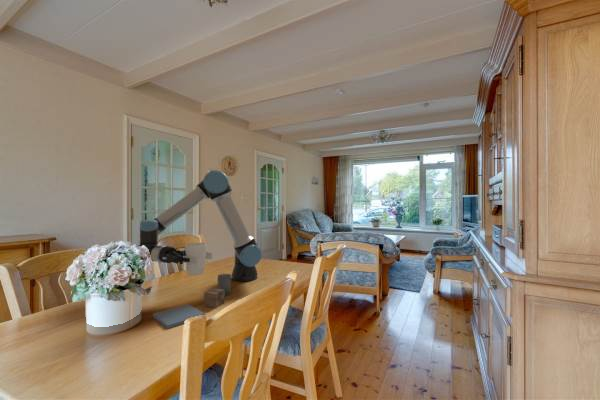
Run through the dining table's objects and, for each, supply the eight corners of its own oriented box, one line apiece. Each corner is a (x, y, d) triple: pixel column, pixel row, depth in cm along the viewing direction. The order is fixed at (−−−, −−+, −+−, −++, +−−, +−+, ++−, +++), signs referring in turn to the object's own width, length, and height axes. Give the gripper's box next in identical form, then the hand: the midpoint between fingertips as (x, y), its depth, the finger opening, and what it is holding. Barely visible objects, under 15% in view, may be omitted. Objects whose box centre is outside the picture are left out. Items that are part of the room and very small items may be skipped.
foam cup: (199, 269, 128) (199, 242, 128) (211, 273, 122) (211, 244, 122) (180, 274, 120) (180, 244, 120) (192, 277, 114) (192, 246, 115)
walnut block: (212, 301, 122) (213, 288, 122) (224, 303, 120) (224, 289, 120) (204, 306, 116) (204, 292, 116) (215, 308, 114) (216, 294, 114)
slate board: (188, 307, 115) (188, 304, 115) (204, 316, 105) (204, 313, 105) (152, 316, 104) (152, 313, 104) (167, 328, 95) (167, 325, 95)
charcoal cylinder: (226, 291, 136) (226, 273, 136) (232, 294, 131) (233, 275, 131) (215, 293, 131) (215, 275, 131) (221, 297, 127) (221, 277, 127)
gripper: (181, 257, 137) (219, 261, 130) (144, 267, 116) (186, 272, 109) (181, 243, 137) (219, 245, 130) (144, 250, 116) (186, 254, 109)
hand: (204, 258), depth 120 cm, fingers closed on foam cup, 9 cm apart
